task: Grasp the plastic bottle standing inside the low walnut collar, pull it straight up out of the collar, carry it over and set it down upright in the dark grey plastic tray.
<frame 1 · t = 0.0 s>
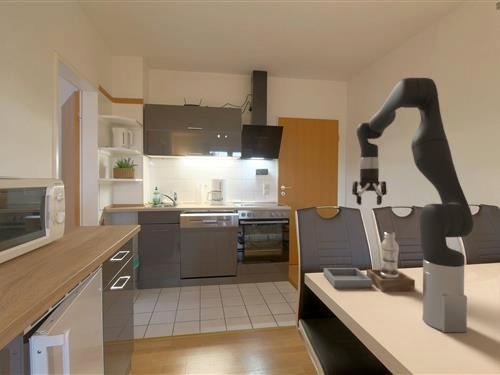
hand: (369, 204, 118), 29 cm above the table, fingers open, 8 cm apart
plastic bottle: (389, 285, 102), resting in walnut collar
walnut collar: (389, 284, 102), on the table
grey tray: (346, 281, 106), on the table
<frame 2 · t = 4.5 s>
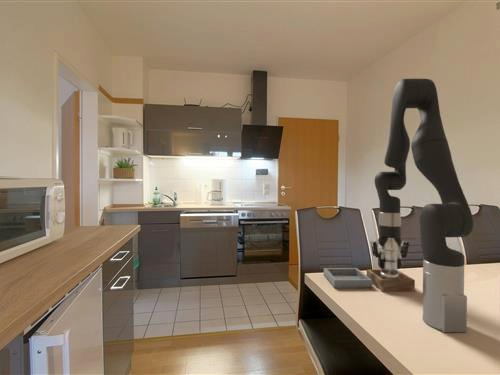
hand: (389, 268, 102), 6 cm above the table, fingers closed on plastic bottle, 5 cm apart
plastic bottle: (389, 285, 102), resting in walnut collar, touching gripper
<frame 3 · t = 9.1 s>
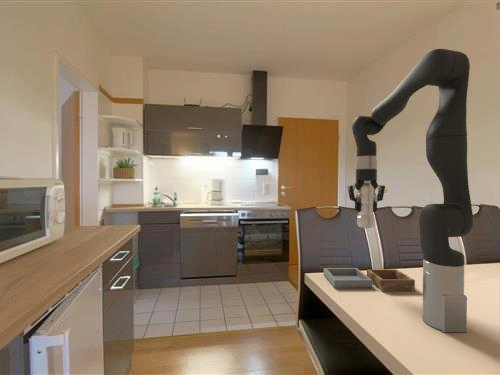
hand: (365, 211, 104), 28 cm above the table, fingers closed on plastic bottle, 5 cm apart
plastic bottle: (365, 228, 104), point 21 cm above the table, touching gripper
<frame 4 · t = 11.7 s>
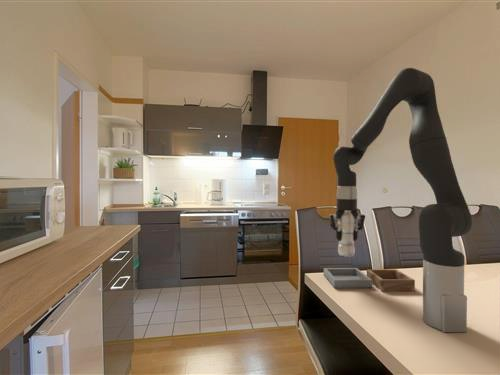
hand: (346, 240, 106), 16 cm above the table, fingers closed on plastic bottle, 5 cm apart
plastic bottle: (346, 257, 106), point 10 cm above the table, touching gripper
when the fingers open (8 cm above the table, at t = 13.8 s): plastic bottle drops 1 cm, resting on grey tray.
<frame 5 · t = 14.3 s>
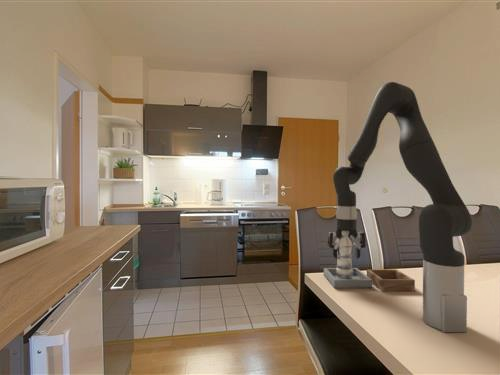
hand: (346, 258, 106), 9 cm above the table, fingers open, 8 cm apart
plastic bottle: (344, 280, 106), resting on grey tray
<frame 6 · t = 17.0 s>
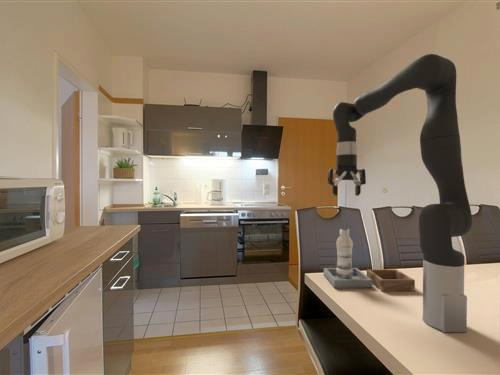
hand: (346, 195, 105), 34 cm above the table, fingers open, 8 cm apart
nothing on the table moved.
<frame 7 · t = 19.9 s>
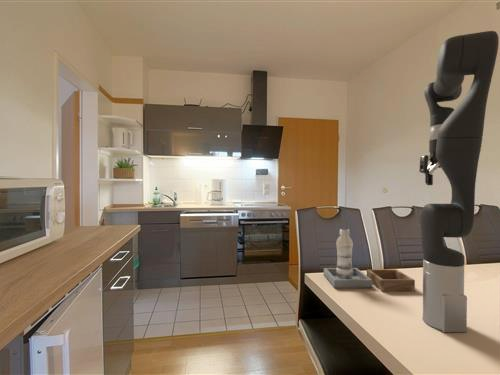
hand: (441, 185, 93), 38 cm above the table, fingers open, 8 cm apart
nothing on the table moved.
at the end: plastic bottle inside the target area on the grey tray (0.8 cm from its centre), point 0.4 cm above the grey tray's base; plastic bottle tilted 0°; the gripper is holding nothing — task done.
